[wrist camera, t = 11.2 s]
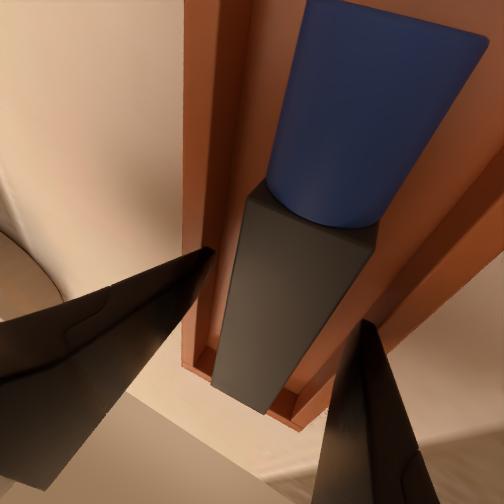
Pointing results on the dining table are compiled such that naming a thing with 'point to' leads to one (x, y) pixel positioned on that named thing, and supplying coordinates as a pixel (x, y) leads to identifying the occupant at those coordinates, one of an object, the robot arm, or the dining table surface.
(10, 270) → the flag stand
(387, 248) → the pen tray
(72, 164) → the dining table surface
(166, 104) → the dining table surface
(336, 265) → the marker
